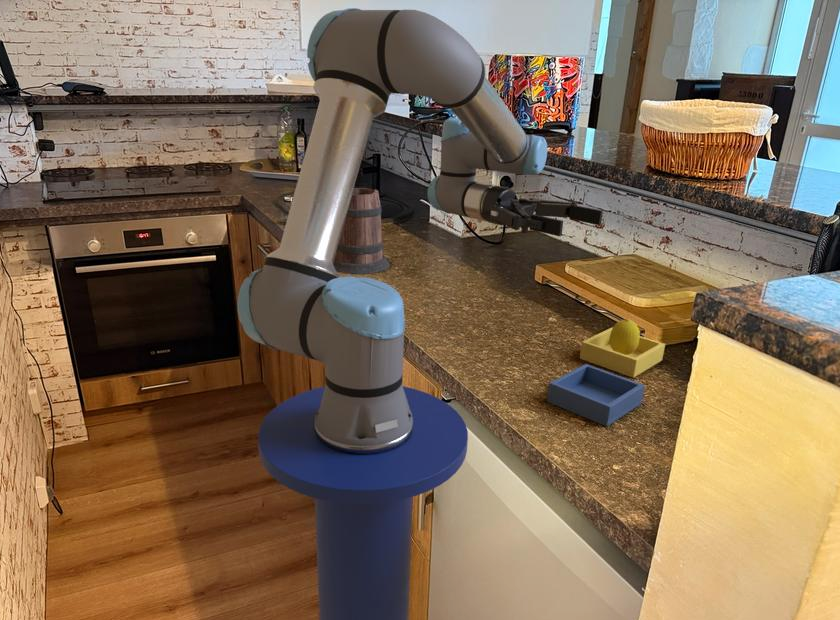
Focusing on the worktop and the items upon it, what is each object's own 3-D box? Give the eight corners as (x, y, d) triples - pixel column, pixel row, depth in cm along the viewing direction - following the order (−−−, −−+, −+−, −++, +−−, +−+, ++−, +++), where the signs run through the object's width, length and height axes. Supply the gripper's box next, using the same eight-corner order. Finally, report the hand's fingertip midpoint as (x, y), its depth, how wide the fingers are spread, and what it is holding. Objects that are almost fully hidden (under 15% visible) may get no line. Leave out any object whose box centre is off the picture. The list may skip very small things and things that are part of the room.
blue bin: (546, 401, 116) (549, 382, 115) (582, 381, 124) (585, 363, 123) (606, 426, 109) (610, 407, 108) (641, 403, 117) (645, 385, 115)
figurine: (282, 225, 224) (281, 207, 222) (284, 222, 228) (283, 204, 226) (299, 225, 225) (298, 207, 222) (299, 222, 229) (299, 204, 226)
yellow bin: (579, 358, 133) (581, 341, 132) (609, 343, 141) (612, 327, 140) (633, 377, 126) (636, 360, 125) (662, 360, 134) (665, 343, 132)
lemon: (639, 363, 131) (646, 324, 128) (610, 362, 131) (617, 323, 128) (631, 351, 136) (638, 314, 133) (604, 350, 136) (609, 313, 133)
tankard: (393, 273, 180) (394, 197, 172) (329, 274, 178) (327, 197, 169) (383, 249, 201) (384, 180, 193) (326, 250, 199) (324, 180, 190)
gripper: (526, 213, 149) (612, 232, 135) (450, 231, 132) (540, 254, 119) (529, 179, 146) (618, 194, 132) (452, 192, 129) (545, 211, 116)
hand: (582, 223), depth 126 cm, fingers open, 13 cm apart
